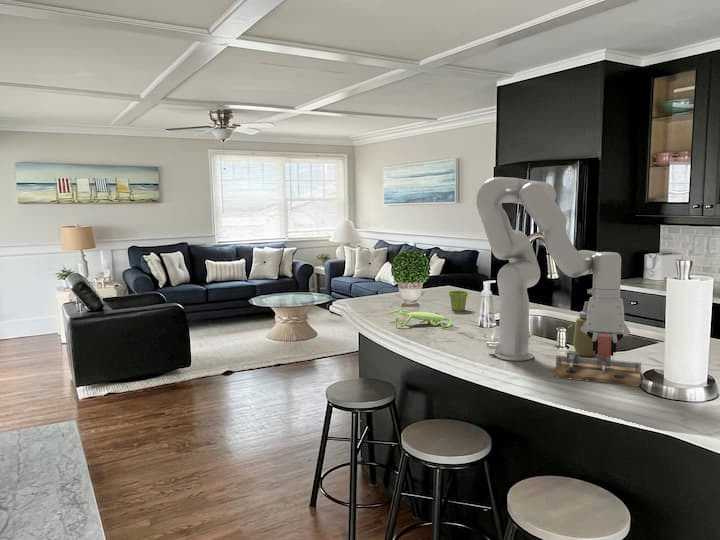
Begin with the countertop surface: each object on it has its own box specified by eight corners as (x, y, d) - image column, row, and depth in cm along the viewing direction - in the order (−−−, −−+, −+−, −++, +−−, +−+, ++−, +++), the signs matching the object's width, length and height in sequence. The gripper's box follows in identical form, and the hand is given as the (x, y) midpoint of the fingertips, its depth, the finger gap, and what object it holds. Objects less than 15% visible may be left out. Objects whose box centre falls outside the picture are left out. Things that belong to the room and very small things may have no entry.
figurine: (388, 320, 251) (388, 307, 250) (448, 319, 250) (448, 307, 249) (388, 329, 233) (388, 316, 232) (453, 328, 231) (453, 315, 231)
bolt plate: (553, 377, 165) (553, 373, 165) (558, 364, 178) (558, 360, 178) (640, 386, 156) (641, 382, 156) (638, 372, 168) (639, 368, 168)
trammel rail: (553, 370, 168) (554, 357, 167) (556, 362, 176) (556, 349, 175) (641, 379, 158) (642, 365, 158) (640, 370, 166) (640, 356, 166)
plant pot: (467, 312, 262) (467, 294, 261) (447, 311, 264) (447, 293, 263) (469, 308, 271) (469, 290, 270) (449, 308, 273) (449, 290, 272)
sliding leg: (596, 373, 163) (597, 340, 162) (597, 364, 171) (598, 333, 170) (610, 374, 162) (611, 341, 160) (610, 365, 170) (611, 334, 169)
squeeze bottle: (602, 353, 189) (603, 301, 186) (593, 359, 183) (595, 304, 180) (578, 350, 194) (579, 298, 192) (568, 355, 188) (570, 302, 186)
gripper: (575, 294, 166) (573, 354, 168) (637, 297, 159) (635, 360, 162) (576, 290, 173) (575, 348, 175) (636, 293, 166) (634, 353, 168)
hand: (604, 353), depth 168 cm, fingers closed on sliding leg, 3 cm apart
